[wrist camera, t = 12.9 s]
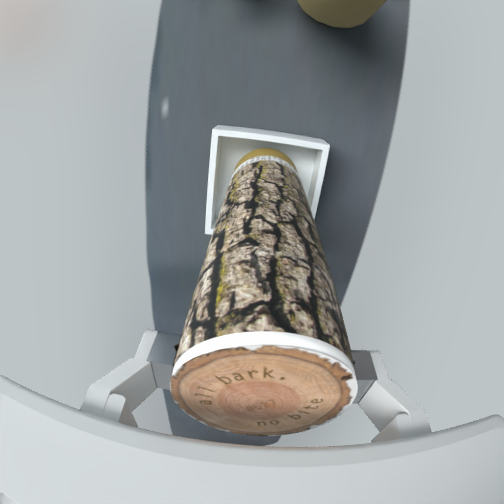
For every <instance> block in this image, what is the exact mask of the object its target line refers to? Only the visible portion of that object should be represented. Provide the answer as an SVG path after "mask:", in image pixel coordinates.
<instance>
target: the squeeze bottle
mask: <svg viewBox="0 0 504 504" xmlns="http://www.w3.org/2000/svg"><path fill="white" fill-rule="evenodd" d="M386 1H387V0H297V2H298V3H299V4H300V6H301V7H302V9H303V10H304V12H306V13H307V14H308V15H309V16H311V17H312V18H313V19H315V20H316V21H318V22H321V23H324V24H327V25H329V26H332V27H343V28H351V27H354V26H357V25H361V24H363V23H364V22H366V21H367V20H368V19H369V18H370V17H371V16H372V15H373V14H374V13H375V12H376V11H377V10H378V9H379V8H380V7H381V6H382V5H383V4H384V3H385V2H386Z"/></svg>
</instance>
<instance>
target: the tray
mask: <svg viewBox="0 0 504 504" xmlns="http://www.w3.org/2000/svg"><path fill="white" fill-rule="evenodd" d="M260 148H270V149H275V150H278V151H280V152H282V153H284V154H285V155H286V156H288V157H289V158H290V159H291V160H292V162H293V163H294V165H295V167H296V169H297V172H298V175H299V177H300V180H301V183H302V186H303V188H304V191H305V194H306V197H307V200H308V203H309V206H310V209H311V212H312V215H313V218H314V219H315V214H316V210H317V205H318V201H319V196H320V192H321V187H322V182H323V178H324V173H325V168H326V163H327V158H328V153H329V148H330V145H329V144H328V143H327V142H325V141H324V140H323V139H319V138H313V137H308V136H302V135H296V134H290V133H284V132H277V131H270V130H262V129H254V128H246V127H236V126H226V125H217V126H216V127H215V128H213V129H212V140H211V152H210V164H209V177H208V192H207V207H206V225H205V234H213V231H214V228H215V225H216V222H217V219H218V216H219V213H220V210H221V207H222V204H223V201H224V198H225V195H226V192H227V189H228V186H229V183H230V180H231V178H232V175H233V173H234V170H235V167H236V165H237V163H238V162H239V160H240V159H241V158H242V157H243V156H244V155H246V154H247V153H249V152H251V151H253V150H256V149H260Z"/></svg>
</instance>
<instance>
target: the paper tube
mask: <svg viewBox="0 0 504 504" xmlns="http://www.w3.org/2000/svg"><path fill="white" fill-rule="evenodd" d="M173 366H174V368H173V373H172V378H171V380H170V392H171V395H172V398H173V399H174V401H175V403H176V404H177V405H178V406H179V407H180V408H181V409H182V410H183V411H184V412H185V413H187V414H188V415H189V416H191V417H192V418H194V419H196V420H197V421H199V422H201V423H203V424H206V425H208V426H211V427H213V428H216V429H219V430H223V431H227V432H231V433H236V434H243V435H252V436H277V435H287V434H293V433H298V432H303V431H306V430H310V429H313V428H316V427H318V426H321V425H323V424H326V423H328V422H330V421H331V420H333V419H335V418H336V417H338V416H339V415H341V414H342V413H343V412H344V411H346V410H347V409H348V408H349V407H350V405H351V404H352V403H353V401H354V399H355V397H356V395H357V390H358V384H357V380H356V370H355V366H354V361H353V357H352V353H351V349H350V345H349V341H348V336H347V332H346V329H345V325H344V321H343V317H342V313H341V309H340V305H339V302H338V298H337V294H336V291H335V287H334V284H333V280H332V277H331V273H330V270H329V266H328V263H327V260H326V256H325V253H324V250H323V246H322V243H321V240H320V237H319V234H318V230H317V227H316V224H315V221H314V218H313V215H312V212H311V209H310V206H309V203H308V200H307V197H306V194H305V191H304V188H303V186H302V183H301V180H300V177H299V175H298V172H297V169H296V167H295V165H294V163H293V162H292V160H291V159H290V158H289V157H288V156H286V155H285V154H284V153H282V152H280V151H278V150H275V149H270V148H260V149H256V150H253V151H251V152H249V153H247V154H246V155H244V156H243V157H242V158H241V159H240V160H239V162H238V163H237V165H236V167H235V170H234V173H233V175H232V178H231V180H230V183H229V186H228V189H227V192H226V195H225V198H224V201H223V204H222V207H221V210H220V213H219V216H218V219H217V222H216V225H215V228H214V231H213V234H212V237H211V240H210V243H209V246H208V250H207V253H206V256H205V259H204V262H203V265H202V269H201V272H200V275H199V278H198V282H197V285H196V288H195V292H194V295H193V298H192V302H191V305H190V308H189V312H188V315H187V319H186V322H185V326H184V329H183V333H182V336H181V340H180V343H179V347H178V351H177V354H176V358H175V362H174V365H173Z"/></svg>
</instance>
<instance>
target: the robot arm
mask: <svg viewBox="0 0 504 504" xmlns="http://www.w3.org/2000/svg"><path fill="white" fill-rule="evenodd" d="M181 336H182V335H177V334H171V333H166V332H161V331H156V330H151V329H147V330H146V331H145V333H144V335H143V338H142V340H141V343H140V345H139V347H138V350H137V353H136V355H135V358H130V359H129V360H127V361H126V362H124V363H123V364H121V365H120V366H118V367H117V368H115V369H114V370H112V371H111V372H109V373H108V374H107V375H105V376H104V377H102V378H101V379H99V380H98V381H96V382H95V383H93V384H92V385H90V388H89V390H88V392H87V394H86V397H85V399H84V401H83V404H82V406H81V409H80V410H78V409H76V408H73V407H70V406H68V405H65V404H62V403H60V402H58V401H55V400H53V399H50V398H48V397H46V396H43V395H41V394H39V393H37V392H34V391H32V390H30V389H28V388H26V387H24V386H22V385H20V384H18V383H16V382H14V381H12V380H10V379H8V378H6V377H4V376H2V375H0V504H504V418H502V417H501V416H500V415H491V416H489V417H486V418H483V419H479V420H477V421H473V422H470V423H467V424H463V425H460V426H456V427H453V428H449V429H445V430H441V431H436V432H431V428H430V425H429V422H428V419H427V415H426V412H425V410H424V409H423V408H422V407H421V406H420V405H418V403H417V402H415V401H414V400H413V399H412V398H411V397H410V396H409V395H408V394H407V393H406V392H405V391H403V389H402V388H400V387H399V386H398V385H397V384H396V383H395V382H394V381H393V380H389V378H388V375H387V372H386V369H385V365H384V362H383V359H382V357H381V353H380V352H379V351H367V350H351V353H352V357H353V361H354V366H355V370H356V380H357V384H358V390H357V395H356V397H355V399H354V401H353V403H358V405H359V406H360V407H361V409H362V410H363V411H364V412H365V414H366V415H367V416H368V418H369V419H370V420H371V421H372V423H373V424H374V425H375V426H376V428H377V429H378V430H379V432H380V433H379V434H378V435H377V436H376V437H375V438H373V440H372V441H371V442H372V443H366V444H357V445H345V446H329V447H266V446H250V445H238V444H227V443H219V442H211V441H203V440H197V439H190V438H185V437H179V436H174V435H168V434H163V433H159V432H154V431H149V430H146V429H141V428H137V427H138V425H137V423H136V421H135V419H134V417H133V415H132V411H133V410H134V409H135V408H137V406H139V405H140V404H141V403H142V402H143V401H144V400H145V399H146V398H147V397H148V396H150V395H151V394H152V393H153V392H154V391H155V390H156V389H157V388H162V389H168V390H170V380H171V378H172V373H173V368H174V366H173V365H174V362H175V358H176V354H177V351H178V347H179V343H180V340H181Z"/></svg>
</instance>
